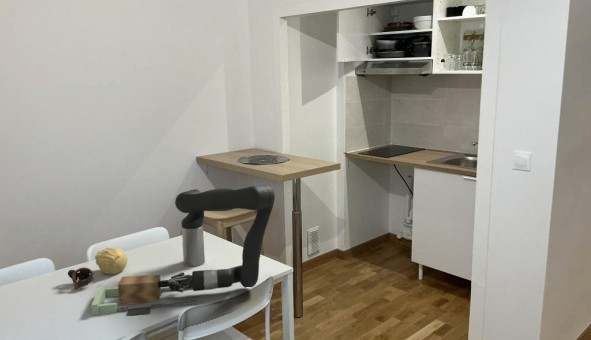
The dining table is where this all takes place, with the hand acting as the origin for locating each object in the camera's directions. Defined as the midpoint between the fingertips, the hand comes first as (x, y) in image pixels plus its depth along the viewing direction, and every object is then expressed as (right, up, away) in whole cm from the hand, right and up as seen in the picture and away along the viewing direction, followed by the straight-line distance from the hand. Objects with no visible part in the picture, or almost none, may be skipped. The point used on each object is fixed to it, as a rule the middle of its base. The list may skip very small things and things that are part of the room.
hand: (158, 284), depth 182 cm
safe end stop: (-18, -7, -2) cm, 19 cm away
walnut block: (-7, -6, +1) cm, 9 cm away
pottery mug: (-35, -4, +14) cm, 38 cm away
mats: (-6, -6, 0) cm, 9 cm away
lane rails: (0, -6, +1) cm, 6 cm away
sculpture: (-27, -1, +27) cm, 38 cm away
